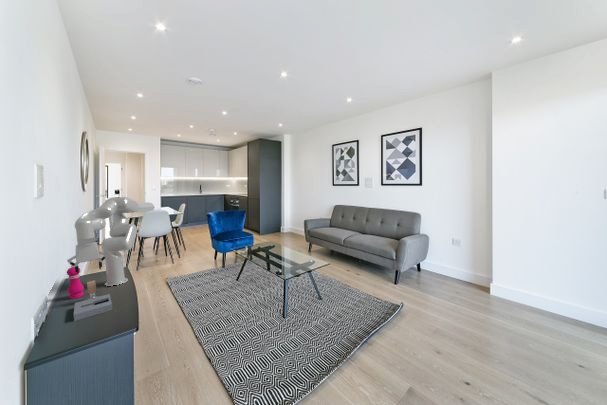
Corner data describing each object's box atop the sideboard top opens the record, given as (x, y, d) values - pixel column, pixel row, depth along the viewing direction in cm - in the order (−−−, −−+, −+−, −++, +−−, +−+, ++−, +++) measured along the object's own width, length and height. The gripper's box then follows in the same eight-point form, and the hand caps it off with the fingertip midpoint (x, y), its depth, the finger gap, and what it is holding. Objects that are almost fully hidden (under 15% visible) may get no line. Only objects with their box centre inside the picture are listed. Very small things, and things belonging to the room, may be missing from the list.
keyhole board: (75, 308, 135) (74, 302, 134) (110, 299, 144) (109, 293, 144) (74, 321, 122) (73, 314, 122) (112, 309, 132) (111, 304, 131)
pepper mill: (66, 300, 145) (62, 267, 143) (71, 295, 151) (67, 264, 149) (82, 297, 148) (78, 265, 146) (86, 292, 154) (82, 261, 153)
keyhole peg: (87, 300, 144) (85, 282, 143) (98, 297, 147) (96, 279, 146) (87, 303, 141) (85, 284, 140) (98, 300, 144) (96, 281, 143)
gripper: (105, 238, 149) (108, 265, 151) (65, 243, 138) (69, 273, 139) (105, 239, 144) (108, 268, 145) (64, 245, 132) (68, 276, 134)
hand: (89, 270), depth 142 cm, fingers open, 9 cm apart
